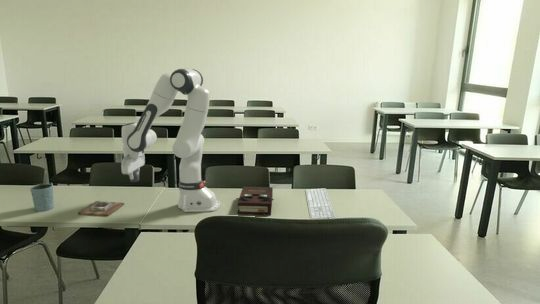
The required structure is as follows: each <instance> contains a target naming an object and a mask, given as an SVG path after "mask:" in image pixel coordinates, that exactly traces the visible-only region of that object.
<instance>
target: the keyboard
mask: <svg viewBox="0 0 540 304" xmlns="http://www.w3.org/2000/svg"><path fill="white" fill-rule="evenodd" d="M327 191H328V190H327V189H326V188H310V189H305V191H304V192H305V195H306V201H307V202H306V203H307V208H308V213H309V218H310V220H311V219H325V220H327V219H326V218H335V219H336V215H335V212H334V208H333V205H332V203H331V199H330V196H329V194H328V192H327Z"/></svg>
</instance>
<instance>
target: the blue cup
mask: <svg viewBox="0 0 540 304" xmlns="http://www.w3.org/2000/svg"><path fill="white" fill-rule="evenodd" d="M29 190H30V193H31V197H32V202H33V207H34V211H35V210H36V211H35V212H47V210H48V211H51V210H53V209H54V206H55V204H54V202H55V201H54V184H52V183H39V184H34V185H32V186H30V187H29ZM52 208H53V209H52ZM50 209H51V210H50Z"/></svg>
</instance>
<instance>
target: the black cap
mask: <svg viewBox="0 0 540 304" xmlns="http://www.w3.org/2000/svg"><path fill="white" fill-rule="evenodd" d="M133 176H134V179H130V178H129V180H130V183H138V182H139V181H140V172H139V173H138V171H135V170H134V171H133Z"/></svg>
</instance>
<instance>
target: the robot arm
mask: <svg viewBox="0 0 540 304" xmlns="http://www.w3.org/2000/svg"><path fill="white" fill-rule="evenodd" d="M203 82H204V77H203V75H202V73H201V72H200V71H198V70H196V69H193V68H178V69H175V70H174V71H173V72H172V73H167V72H165V73H163V74H162V75H160V77H159V79H158V81H157V82H156V84H155V85H154V88H153V90H152V93H151V95H150V97H149V100H148V101H147V102H148V103H147V104H146V107H145V108H144V109H143V112H142V114H141V116H140V118H138V119H139V120H138V122H129V123H126V124H123V125H122V126H121V141H122V144H123V146H122V152H123V153H122V154H123V158H122V160H121V163H120V164H121V165H120V167H121V173H122V174H123V175H128V177H129V180H130V179H134V176H133V171H138V173H139V174H140V171H141V170H140V168H141V167H143V166H145V163H146V160H145V159H146V157H145V151H146V149H148V148H150V147H152V146H154V145H155V144H156V143H157V141H158V136H157V133H156V132H155V131H154V130H153V129H151V127H152V126H153V122H154V121H156V119H157V118H159V117H160V116H161V115H162V114H164V113H166V112H167V111H169V110H170V108H171V107H172V105H173V104H174V101H175V99H176V96H177V94H178V92H179V93H181V94H182V95H183V96H186V97H187V101H186V105H185V108H184V113H183V118H182V119H183V120H182V123H181V125H180V127H179V130H178V132H177V136H176V138H175V140H174V142H173V144H172V152H173V154H174V155H175V156H176V157H177V158H180V163H179V167H178V169H179V181H178V190H179V198H178V203H177V208H178V209H180V210H182V211H183V212H185V213H188V212H189V213H191V212H192V213H198V212H199V213H201V212H202V213H203V212H204V213H205V212H215V211H217V210H218V209H219V208H220V206H221V201H220V200H218V199H217V197H216V194H215V192H213V191H212V190H211V189H210V188H208V187H206V180H203V179H202V158H203V150H204V145H205V137H204V135H203V134H202V133H203V130H204V128H205V126H206V120H207V118H208V113H209V107H210V102H211V101H210V99H211V98H210V97H211V94H210V91H209V90H208V89H207V88H206V87H203V84H204V83H203Z"/></svg>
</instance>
